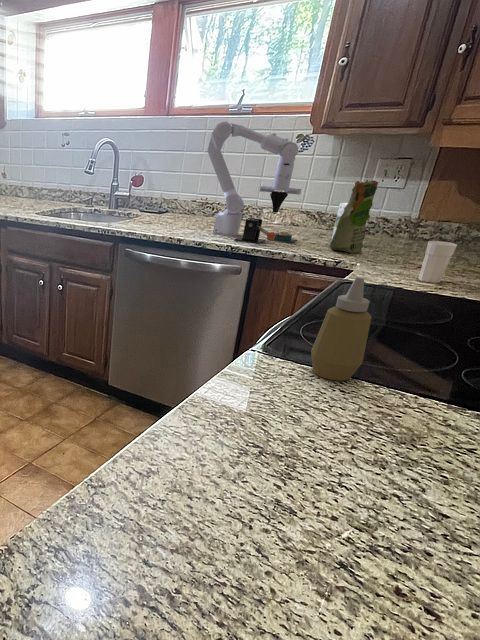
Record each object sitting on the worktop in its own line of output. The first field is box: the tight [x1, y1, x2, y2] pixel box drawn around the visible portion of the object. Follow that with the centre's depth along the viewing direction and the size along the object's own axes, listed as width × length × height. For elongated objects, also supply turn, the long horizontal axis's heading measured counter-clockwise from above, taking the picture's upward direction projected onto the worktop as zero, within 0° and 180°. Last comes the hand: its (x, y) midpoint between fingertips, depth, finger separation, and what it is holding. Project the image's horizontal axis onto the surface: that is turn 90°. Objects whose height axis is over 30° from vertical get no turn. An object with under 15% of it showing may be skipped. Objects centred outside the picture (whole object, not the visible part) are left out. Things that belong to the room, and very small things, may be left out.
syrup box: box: [330, 202, 348, 241], centre depth 205 cm, size 6×6×14 cm
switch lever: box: [252, 219, 276, 241], centre depth 199 cm, size 11×3×3 cm, turn 47°
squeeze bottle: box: [310, 276, 372, 382], centre depth 91 cm, size 8×8×18 cm
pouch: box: [328, 179, 379, 255], centre depth 185 cm, size 11×12×25 cm
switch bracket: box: [234, 217, 267, 245], centre depth 201 cm, size 9×8×9 cm
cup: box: [417, 240, 458, 284], centre depth 153 cm, size 7×7×11 cm
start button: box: [278, 229, 289, 235], centre depth 203 cm, size 3×3×2 cm
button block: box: [266, 232, 298, 244], centre depth 204 cm, size 9×6×3 cm, turn 46°
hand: (275, 212), depth 206 cm, fingers closed
